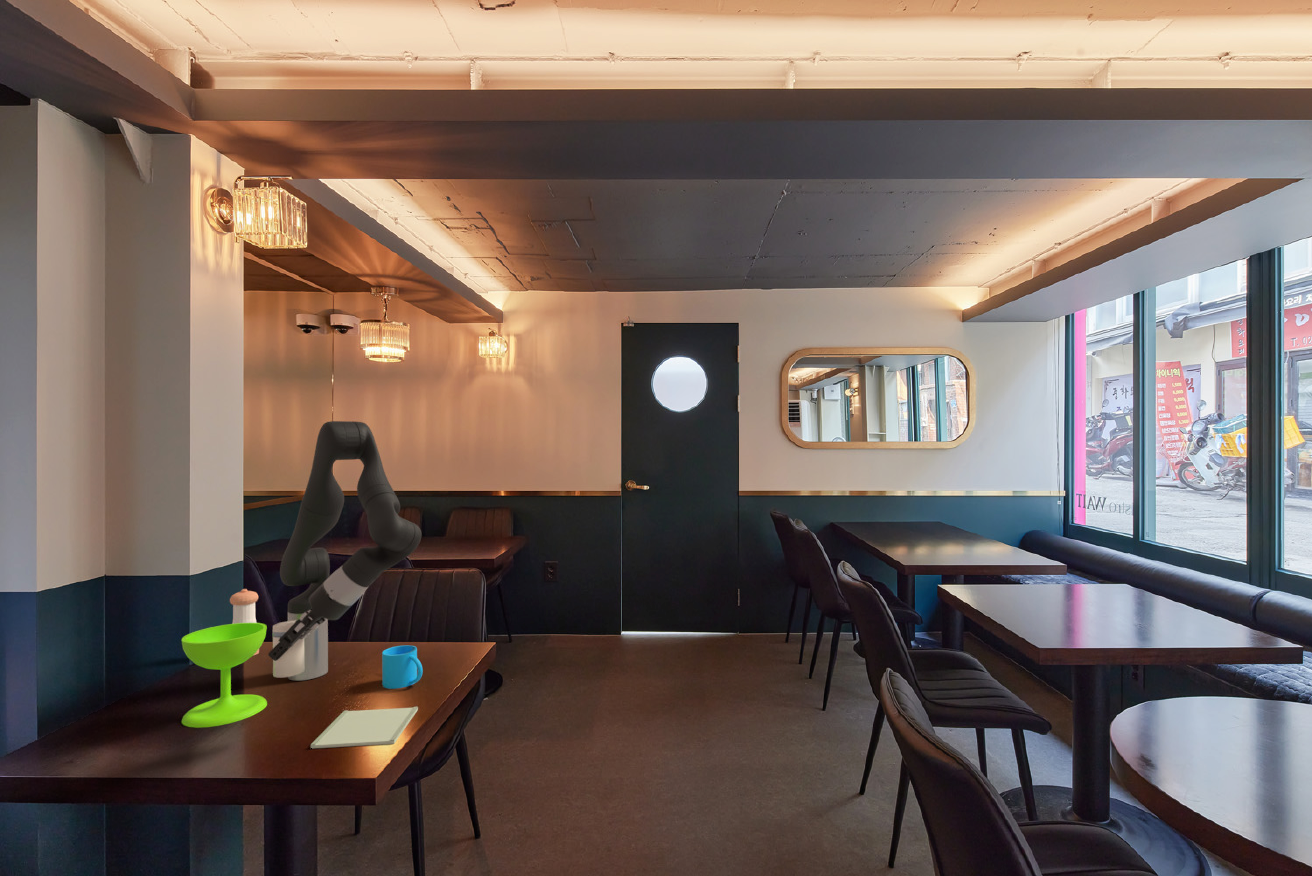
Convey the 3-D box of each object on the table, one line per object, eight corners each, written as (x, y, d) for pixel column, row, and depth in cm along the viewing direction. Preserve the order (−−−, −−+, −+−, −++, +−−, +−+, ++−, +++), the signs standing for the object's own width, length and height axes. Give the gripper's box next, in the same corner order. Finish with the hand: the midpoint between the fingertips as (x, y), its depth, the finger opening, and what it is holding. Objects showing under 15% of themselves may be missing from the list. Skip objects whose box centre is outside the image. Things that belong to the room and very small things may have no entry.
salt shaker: (222, 658, 176) (222, 591, 177) (243, 650, 183) (243, 586, 184) (244, 659, 175) (244, 592, 176) (265, 651, 182) (264, 586, 183)
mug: (375, 685, 154) (375, 653, 154) (402, 674, 161) (402, 643, 161) (408, 693, 148) (408, 660, 148) (434, 682, 155) (434, 650, 156)
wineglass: (219, 697, 148) (219, 622, 148) (282, 697, 147) (282, 622, 147) (162, 727, 132) (162, 643, 132) (233, 728, 131) (232, 643, 131)
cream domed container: (280, 668, 129) (280, 621, 129) (309, 667, 130) (309, 619, 130) (267, 678, 123) (267, 628, 124) (297, 676, 124) (296, 627, 124)
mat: (344, 714, 137) (344, 710, 137) (417, 710, 138) (417, 706, 138) (310, 748, 121) (310, 744, 121) (394, 743, 122) (394, 739, 122)
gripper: (339, 573, 135) (282, 630, 133) (311, 587, 121) (247, 651, 119) (365, 596, 136) (308, 653, 134) (340, 612, 122) (276, 677, 120)
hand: (279, 652), depth 126 cm, fingers closed on cream domed container, 5 cm apart
